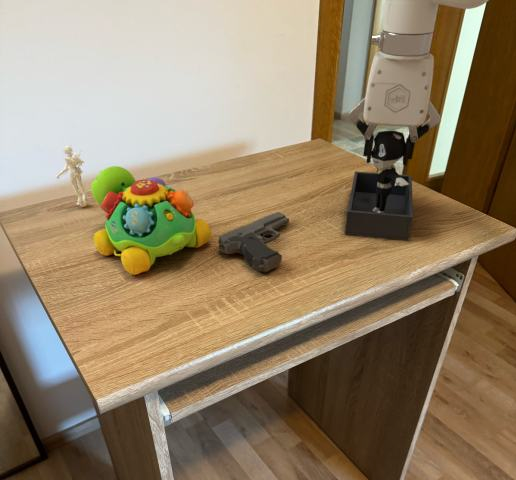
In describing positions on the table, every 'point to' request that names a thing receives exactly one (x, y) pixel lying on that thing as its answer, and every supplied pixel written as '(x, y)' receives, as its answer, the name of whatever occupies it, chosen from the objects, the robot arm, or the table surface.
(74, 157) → the figurine
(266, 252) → the handgun
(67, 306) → the table surface
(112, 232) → the turtle toy
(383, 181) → the toy
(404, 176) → the dark grey open box
